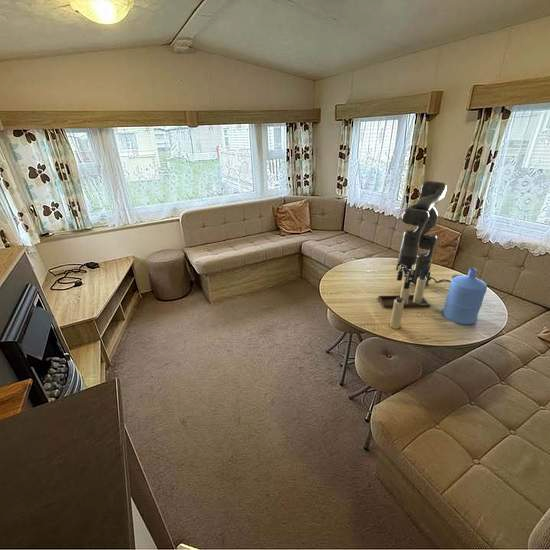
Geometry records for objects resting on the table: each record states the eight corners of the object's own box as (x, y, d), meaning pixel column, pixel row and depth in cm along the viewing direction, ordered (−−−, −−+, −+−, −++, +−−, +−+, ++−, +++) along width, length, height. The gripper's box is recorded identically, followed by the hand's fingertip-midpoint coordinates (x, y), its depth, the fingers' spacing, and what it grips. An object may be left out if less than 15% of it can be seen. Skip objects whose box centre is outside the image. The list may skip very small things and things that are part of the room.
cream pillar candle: (397, 323, 155) (402, 296, 148) (400, 328, 151) (406, 300, 144) (388, 323, 155) (393, 296, 148) (391, 328, 151) (396, 301, 144)
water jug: (475, 328, 150) (492, 279, 137) (440, 319, 157) (453, 272, 145) (476, 313, 161) (491, 266, 149) (443, 306, 169) (456, 260, 157)
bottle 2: (419, 299, 175) (424, 274, 167) (422, 303, 171) (428, 278, 163) (411, 299, 175) (416, 274, 167) (414, 304, 171) (420, 278, 163)
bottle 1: (405, 300, 175) (410, 274, 167) (408, 304, 171) (414, 278, 163) (397, 300, 175) (402, 275, 167) (400, 304, 171) (405, 278, 163)
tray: (421, 297, 178) (421, 294, 177) (429, 307, 168) (430, 304, 167) (378, 298, 178) (378, 295, 177) (384, 308, 168) (384, 305, 167)
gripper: (423, 258, 129) (416, 291, 136) (410, 247, 142) (404, 277, 149) (406, 259, 129) (400, 291, 136) (394, 247, 142) (389, 277, 149)
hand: (402, 284), depth 142 cm, fingers open, 8 cm apart
